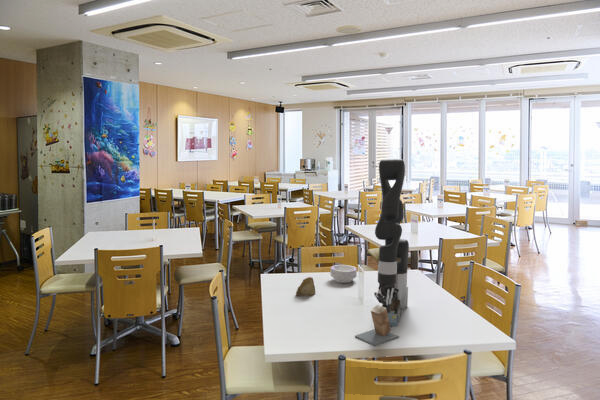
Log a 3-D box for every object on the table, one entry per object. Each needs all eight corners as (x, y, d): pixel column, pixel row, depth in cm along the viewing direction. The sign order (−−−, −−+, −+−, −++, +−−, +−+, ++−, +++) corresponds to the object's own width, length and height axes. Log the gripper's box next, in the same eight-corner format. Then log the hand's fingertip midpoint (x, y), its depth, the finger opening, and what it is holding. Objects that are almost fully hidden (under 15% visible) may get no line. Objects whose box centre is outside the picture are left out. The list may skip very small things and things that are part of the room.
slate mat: (378, 329, 193) (378, 327, 193) (398, 337, 185) (398, 335, 185) (354, 337, 185) (354, 335, 185) (375, 346, 176) (375, 344, 176)
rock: (293, 293, 234) (312, 292, 232) (293, 277, 238) (312, 276, 237) (298, 300, 243) (316, 299, 241) (298, 285, 247) (316, 284, 246)
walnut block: (382, 327, 190) (377, 304, 187) (391, 330, 186) (386, 307, 183) (375, 333, 187) (370, 310, 184) (384, 336, 184) (378, 313, 181)
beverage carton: (378, 325, 198) (379, 310, 198) (383, 310, 217) (383, 297, 216) (397, 327, 196) (397, 312, 196) (400, 312, 214) (401, 298, 214)
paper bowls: (357, 284, 258) (358, 271, 258) (331, 284, 259) (331, 270, 258) (355, 277, 274) (355, 264, 273) (329, 277, 274) (329, 264, 273)
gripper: (383, 275, 178) (382, 318, 180) (405, 270, 186) (403, 312, 188) (369, 271, 184) (368, 313, 185) (390, 267, 192) (389, 307, 194)
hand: (386, 312), depth 187 cm, fingers closed
